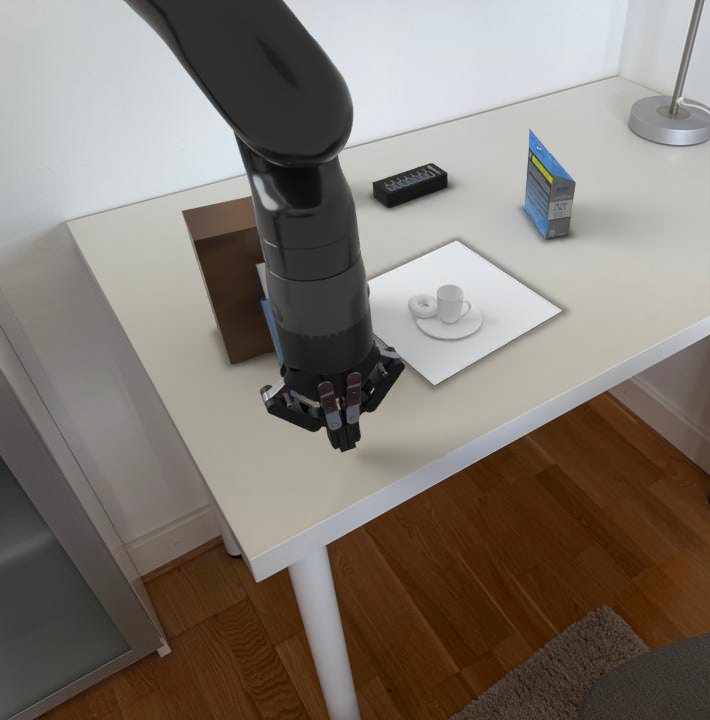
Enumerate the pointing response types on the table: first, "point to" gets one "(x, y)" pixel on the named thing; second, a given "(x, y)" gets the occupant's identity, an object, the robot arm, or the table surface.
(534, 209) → the blue grey carton
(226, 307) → the walnut block
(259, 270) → the blue cylinder
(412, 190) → the multiport hub
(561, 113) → the table surface
